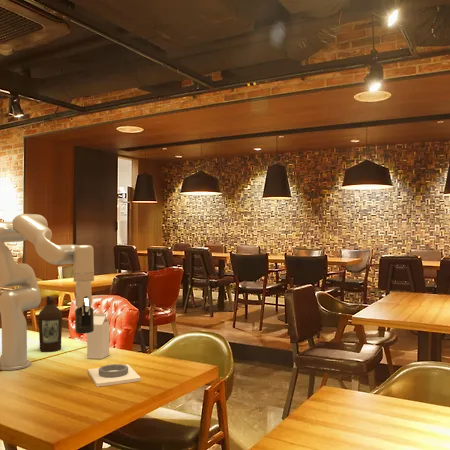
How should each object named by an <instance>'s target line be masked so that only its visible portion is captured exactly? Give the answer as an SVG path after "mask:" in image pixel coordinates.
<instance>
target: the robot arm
mask: <svg viewBox="0 0 450 450" xmlns="http://www.w3.org/2000/svg"><path fill="white" fill-rule="evenodd" d="M48 226H49V225H48V220H47V219H46V218H45V217H44V216H43V215H41V214H38V213H37V214H35V213H33V214H32V213H21V214H18V215H16V216H15V217H14V218H13V219H12V221H0V287H1V288H12V287H19V288H13V289H8V290H5V291H4V292H3V293H2V292H1V294H0V317H1V319H0V320H1V355H0V370H1V371H15V370H21V369H25V368H28V367H30V366H31V365H32V362H31V360H29V359H28V331H27V330H28V326H27V325H28V322H27V319H26V317H25V315H24V314H23V312H25V311H30V310H34V309H36V308H38V307H39V306H40V304H41V301H42V295H41V290H40V287H39V284H38V281H37V277H36V274H35V271H34V269H33V267H31V266H30V265H29V264H28V263H24V262H22V263H17V262H15V259H14V255H13V253H12V250H11V249H10V248H9V247H8V246H7V245H6V244H5V243H19V242H24V241H28V242H30V243H31V244H33V245H34V249H35V252H36V253H37V255H38V256H39V258H40V257H41V259H43V260H44V261H45V262H47V263H49V264H51V265H55V266H61V265H62V266H63V265H73V266H72V267H73V273H72V274H73V282H74V283H75V306H76V308H80V307H82V315H81V323H82V326H90V325H91V324H90V307H92V304H93V303H92V300H93V299H92V282H95V262H94V261H95V257H94V256H95V255H94V253H95V252H94V251H95V250H94V247H93V246H92V245H91V244H90V245H89V244H81V245H79V244H56V243H54V242H52V241H51V240H52V237H53V232H52V229H50V228H49V227H48ZM89 304H90V305H89ZM83 306H85V307H83Z"/></svg>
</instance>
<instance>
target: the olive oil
mask: <svg viewBox="0 0 450 450" xmlns="http://www.w3.org/2000/svg"><path fill="white" fill-rule="evenodd" d="M38 313H39V314H38V317H37V318H38V322H37V323H38V336H39V351H40V352H42V353H53V352H58V351H60V350H61V349H62V332H63V330H62V328H63V313H62V311H61V310H60V308H58V307H57V305H56V304H55V296H54V295H47V296H46V304H45V306H44V307H43V308H42V309H41V310H40V311H39V312H38Z"/></svg>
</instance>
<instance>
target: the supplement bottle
mask: <svg viewBox="0 0 450 450" xmlns="http://www.w3.org/2000/svg"><path fill="white" fill-rule="evenodd" d="M89 305H90V304H89ZM83 307H85V306H83ZM94 314H95V313H94V308H93V307H92V306H91V307H90V324H91V325H90V326H82V323H81V315H82V307H80V308H78V307H76V309H75V310H74V324H75V326H74V327H75V333H76V334H78V335H79V334H80V335H81V334H82V335H84V334H87V333H91V332H93V331H94Z"/></svg>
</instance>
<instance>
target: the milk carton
mask: <svg viewBox="0 0 450 450" xmlns="http://www.w3.org/2000/svg"><path fill="white" fill-rule="evenodd" d="M106 315H107V314H106V313H94V331H93V332H91V333H86V346H87V347H86V353H87V354H86V355H87V357H86V359H94V360H95V359H96V360H97V359H98V360H102V359H105V358H107V357H108V356H110V321H109V319H108V317H107V316H106Z"/></svg>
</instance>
